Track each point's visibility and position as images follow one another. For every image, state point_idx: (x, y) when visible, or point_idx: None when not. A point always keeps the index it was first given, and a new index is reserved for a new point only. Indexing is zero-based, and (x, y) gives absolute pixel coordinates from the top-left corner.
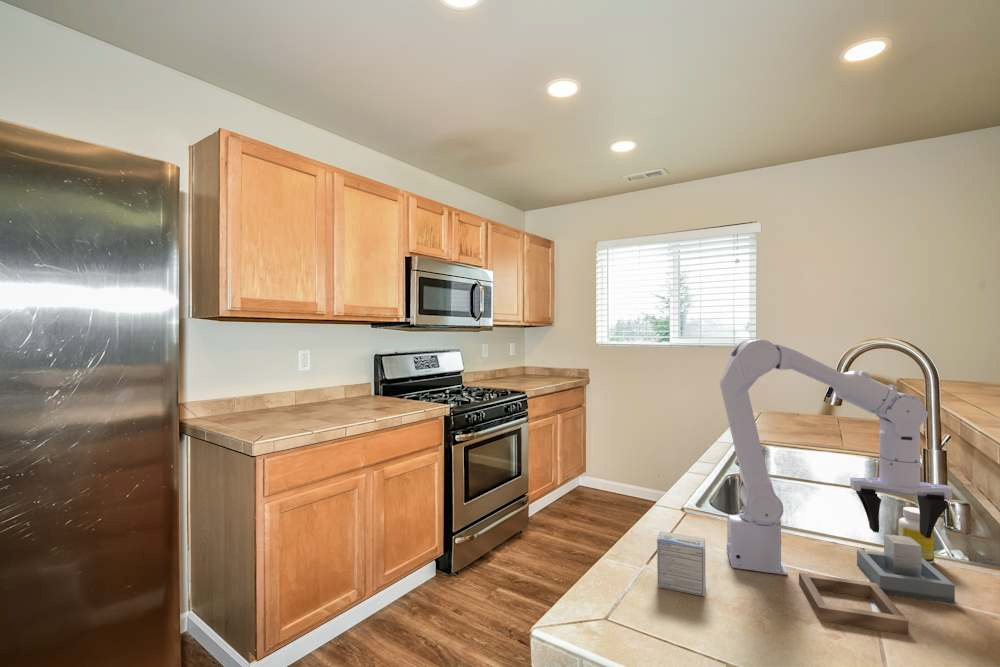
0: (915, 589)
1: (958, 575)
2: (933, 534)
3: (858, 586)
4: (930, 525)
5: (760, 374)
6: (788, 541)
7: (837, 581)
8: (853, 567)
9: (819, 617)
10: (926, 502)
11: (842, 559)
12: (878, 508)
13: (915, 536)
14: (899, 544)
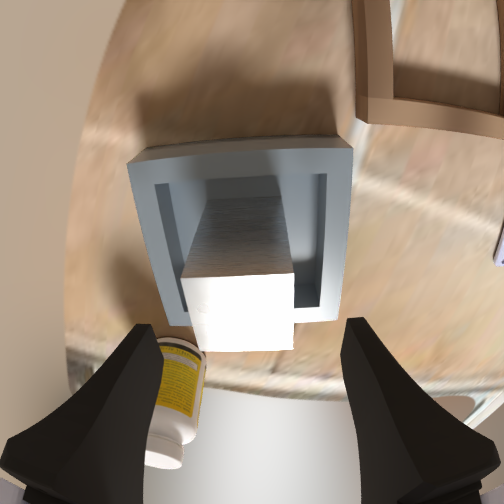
0: (242, 142)
1: (110, 309)
2: None
3: (418, 101)
4: (115, 367)
5: None
6: (423, 348)
7: (468, 110)
8: (344, 274)
9: None
10: (101, 486)
11: (350, 308)
12: (399, 421)
13: (169, 392)
14: (270, 271)
